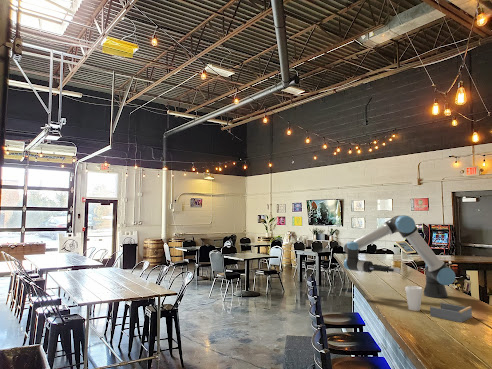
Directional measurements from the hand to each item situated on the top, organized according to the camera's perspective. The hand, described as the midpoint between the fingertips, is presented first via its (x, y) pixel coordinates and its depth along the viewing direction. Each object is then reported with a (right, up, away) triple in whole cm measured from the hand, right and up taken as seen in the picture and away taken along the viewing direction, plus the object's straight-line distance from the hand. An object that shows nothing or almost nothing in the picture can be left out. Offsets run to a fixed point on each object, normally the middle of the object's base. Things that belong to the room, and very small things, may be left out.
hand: (399, 270), depth 226 cm
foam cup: (+5, -22, -8) cm, 24 cm away
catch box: (+19, -20, -24) cm, 36 cm away
